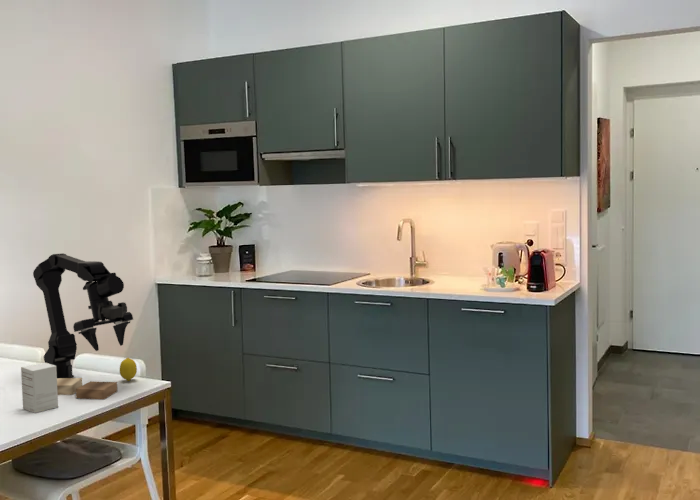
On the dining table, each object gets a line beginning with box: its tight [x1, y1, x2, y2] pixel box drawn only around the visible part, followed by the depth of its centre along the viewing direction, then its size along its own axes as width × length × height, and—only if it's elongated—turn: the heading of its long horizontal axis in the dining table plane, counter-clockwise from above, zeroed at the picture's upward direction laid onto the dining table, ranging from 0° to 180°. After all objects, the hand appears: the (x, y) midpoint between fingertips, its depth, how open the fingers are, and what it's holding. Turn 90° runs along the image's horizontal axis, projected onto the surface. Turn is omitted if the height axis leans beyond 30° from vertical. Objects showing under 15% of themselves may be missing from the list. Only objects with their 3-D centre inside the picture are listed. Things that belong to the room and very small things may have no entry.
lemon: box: [119, 357, 138, 382], centre depth 240 cm, size 6×6×8 cm
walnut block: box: [75, 380, 118, 400], centre depth 224 cm, size 9×9×3 cm
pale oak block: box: [57, 377, 83, 396], centre depth 229 cm, size 9×9×3 cm
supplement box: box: [20, 362, 59, 414], centre depth 210 cm, size 7×7×13 cm
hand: (109, 348), depth 227 cm, fingers open, 9 cm apart
